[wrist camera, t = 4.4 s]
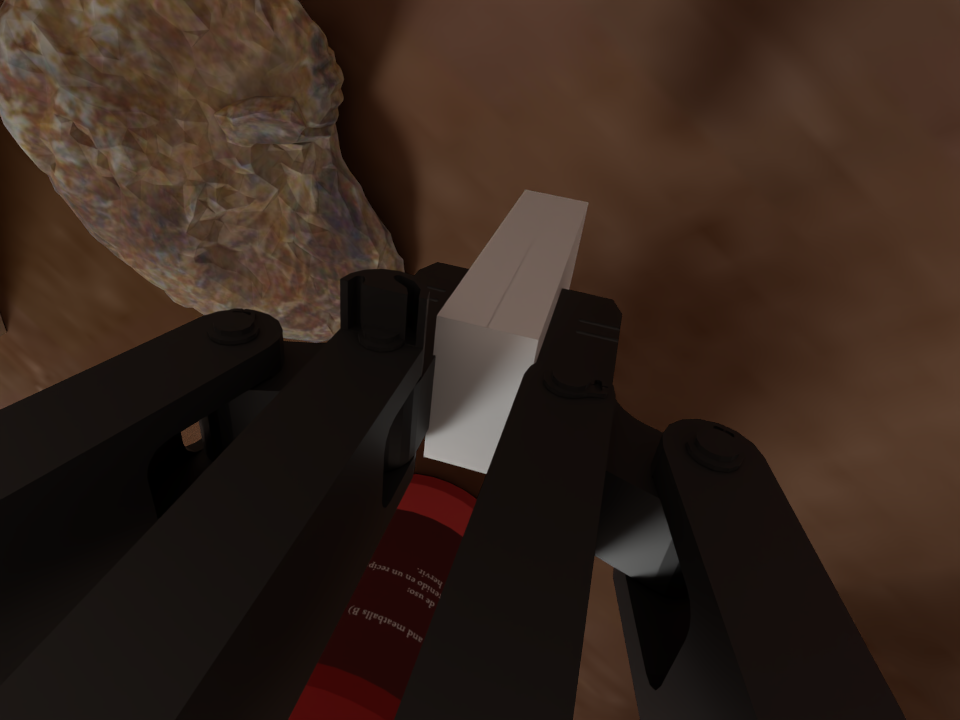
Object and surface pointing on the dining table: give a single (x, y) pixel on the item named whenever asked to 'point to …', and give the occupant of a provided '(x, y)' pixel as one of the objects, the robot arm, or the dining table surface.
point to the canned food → (389, 608)
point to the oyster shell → (197, 147)
